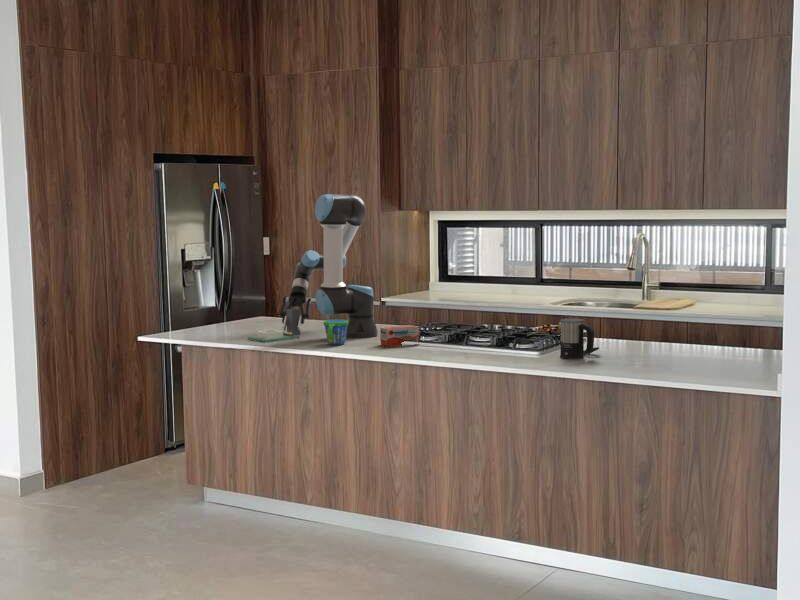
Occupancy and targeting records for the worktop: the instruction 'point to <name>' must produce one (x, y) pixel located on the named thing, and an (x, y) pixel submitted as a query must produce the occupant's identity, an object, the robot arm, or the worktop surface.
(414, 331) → the medicine box
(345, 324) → the snack cup
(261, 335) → the board
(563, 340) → the milk frother
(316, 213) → the robot arm
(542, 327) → the plate of food
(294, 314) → the gray rounded block
